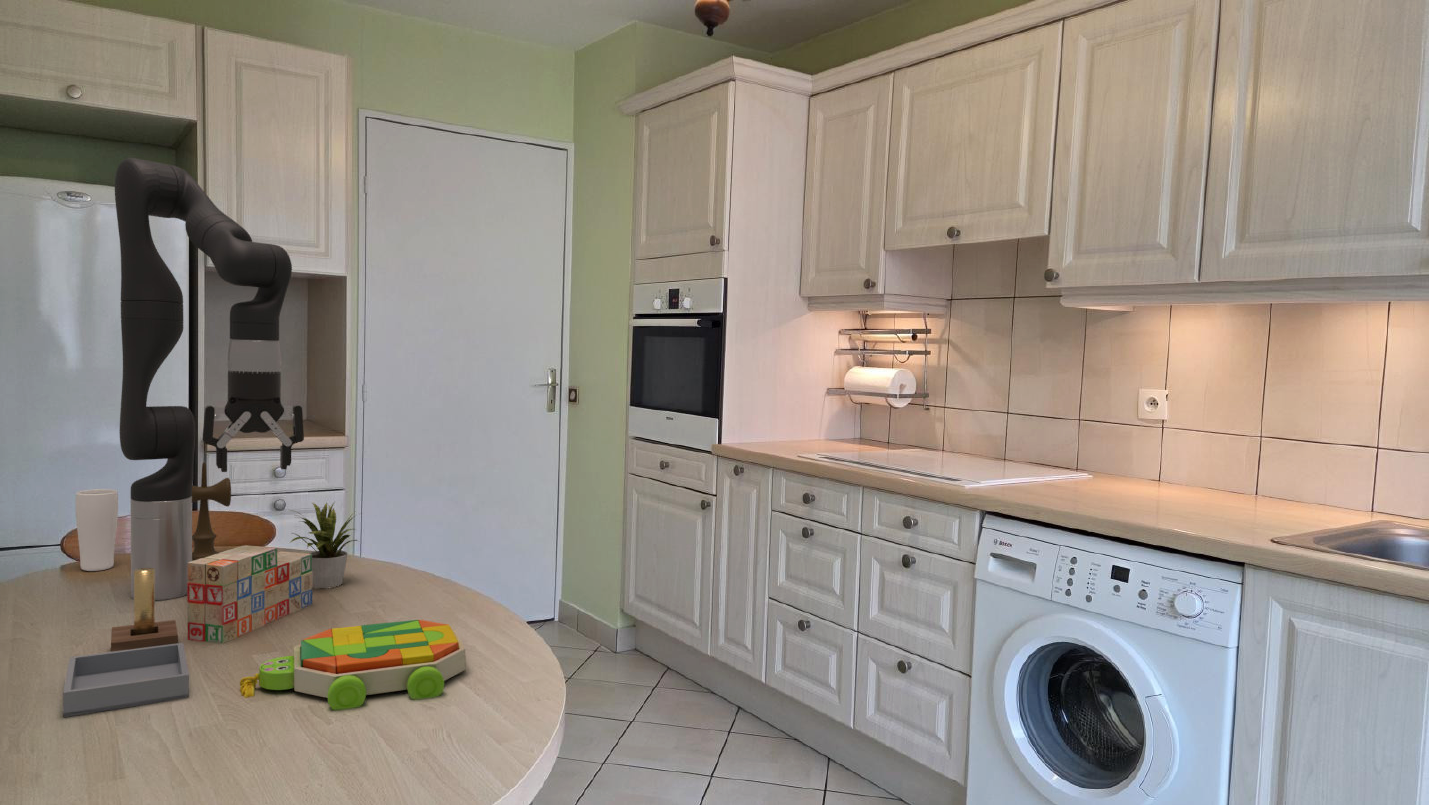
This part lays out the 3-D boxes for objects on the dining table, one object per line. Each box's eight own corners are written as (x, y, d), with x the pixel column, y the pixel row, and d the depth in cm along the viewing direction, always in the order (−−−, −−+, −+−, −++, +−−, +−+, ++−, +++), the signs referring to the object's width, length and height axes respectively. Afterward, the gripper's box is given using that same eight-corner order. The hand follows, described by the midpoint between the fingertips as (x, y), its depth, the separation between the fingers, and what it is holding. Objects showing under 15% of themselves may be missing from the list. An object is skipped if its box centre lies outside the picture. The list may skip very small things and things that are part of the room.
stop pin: (134, 650, 132) (134, 568, 131) (154, 647, 133) (154, 567, 132) (134, 655, 130) (134, 572, 129) (154, 652, 131) (154, 571, 130)
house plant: (265, 585, 168) (266, 497, 167) (338, 573, 178) (339, 490, 177) (300, 601, 159) (301, 509, 158) (374, 587, 169) (376, 500, 168)
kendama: (231, 560, 185) (232, 463, 184) (177, 565, 180) (177, 465, 179) (229, 554, 190) (229, 459, 189) (175, 558, 185) (175, 461, 184)
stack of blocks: (280, 603, 158) (281, 533, 157) (313, 606, 156) (313, 536, 156) (186, 641, 137) (186, 561, 136) (222, 645, 135) (223, 564, 135)
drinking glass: (89, 564, 178) (88, 488, 177) (125, 564, 179) (125, 489, 178) (67, 572, 172) (67, 494, 171) (105, 573, 172) (105, 495, 171)
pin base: (111, 647, 133) (111, 627, 132) (175, 639, 137) (175, 620, 137) (110, 664, 126) (110, 643, 126) (177, 655, 130) (177, 635, 130)
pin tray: (69, 679, 120) (69, 657, 120) (183, 663, 127) (183, 642, 127) (63, 717, 108) (63, 693, 108) (188, 698, 115) (188, 674, 115)
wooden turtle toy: (243, 668, 127) (243, 629, 127) (448, 646, 139) (449, 611, 139) (234, 729, 108) (234, 683, 107) (474, 698, 120) (475, 657, 119)
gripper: (299, 368, 151) (298, 465, 152) (201, 367, 143) (201, 469, 144) (307, 370, 145) (306, 471, 145) (204, 368, 137) (204, 475, 138)
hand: (254, 470), depth 145 cm, fingers open, 8 cm apart
